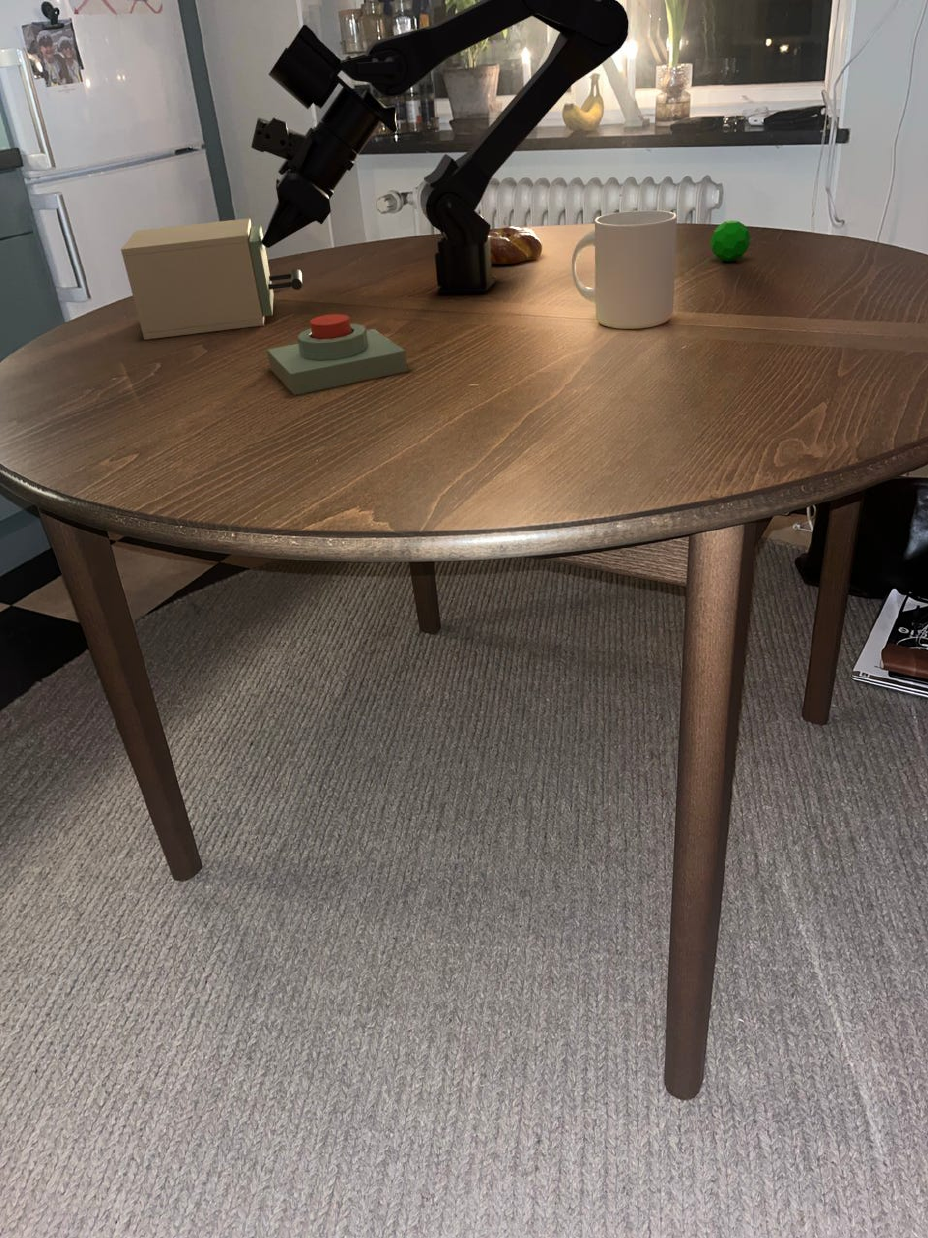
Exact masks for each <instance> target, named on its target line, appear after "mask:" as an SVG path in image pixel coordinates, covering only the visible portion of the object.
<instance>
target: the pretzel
mask: <svg viewBox="0 0 928 1238" xmlns="http://www.w3.org/2000/svg"><path fill="white" fill-rule="evenodd" d="M489 236H490V248H491V264H492V265H511V264H512V265H513V264H519V263H522V262H525V261H527V260H528V261H531V260H535V259H538V257H540V256H541V254H542V252H543V245H542V242H541V240H540V238H538V237H537V236H536V233H535V232H534V231H533V230H532V229H530V228H526V227H525V228H520V227H516V226H505V227H502V228H500V229H499V230H498V231H496V232H495V231H490V232H489Z"/></svg>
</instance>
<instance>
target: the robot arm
mask: <svg viewBox="0 0 928 1238" xmlns="http://www.w3.org/2000/svg"><path fill="white" fill-rule="evenodd" d="M531 17H532V18H535V19H536V20H538V21H540V22H542V23H543V24H545V25H547V26H548V27H550V28H551V29H553V30H555V31H557V32H559V33H558V35H557V37H556V39H555V41H554V43H553V45H552V47H551V50H550V52H549V54H548V56H547V58H546V59H545V61H544V62H543V63H542V64H541V65H540V67H539V68H538V69H537V70H536V71H535V72H534V73H533V75H532V76H531V77H530V78H529V80H528V81H527V82H526V83H525V84H524V86H523V87H522V88H521V89H520V90H519V91H518V92H517V93H516V95H515V96H514V97H513V98H512V100H511V101H510V102H509V103H508V104H507V106H506V107H504V109H503V110H502V111H501V112H500V114H499V115H498V116H497V117H496V118H495V119H494V120H493V121H492V123H491V124H490V125H489V127H487V129H486V130H485V131H484V132H483V133H482V135H481V136H480V137H479V138H478V139H477V140H476V142H475V143H474V144H473V146H471V147H470V149H469V150H468V151H466V153H463V155H461V156H460V157H458V158H457V159H454V158H453V157H452V156H450V155H448V154H447V153H445V154H444V155H443V156H442V158H441V159H440V160H439V163H438V164H437V165H436V168H435V169H433V171H432V172H431V173H429V174H428V175H426V176H424V177H423V180H424V181H425V184H424V186H423V188H422V190H421V192H420V197H419V200H420V201H419V203H420V209H421V211H422V214H423V215H424V216H425V218H426V219H427V221H428V222H429V223H430V225H432V227H434V228H435V229H437V230H438V231H439V232H440V234H441V235H442V236H443V237H442V238H440V239H439V240H438V241H437V252H436V253H435V254H434V262H435V274H436V284H437V286H438V287H439V288H438V289H437V294H439V295H441V294H443V295H444V294H446V295H447V294H484V293H486V292H488V291H489V290H490V289H491V288H492V287H493V285H494V284H496V282H497V277H493V266H492V265H493V264H491V248H490V236H489V232H490V233H491V226H492V225H491V224H490V223H489V222H488V221H486V219H484V217H482V216H481V214H479V213H478V212H477V211H476V209H477V208H478V206H479V204H480V203H481V201H482V199H483V197H484V195H485V193H486V190H487V188H488V186H489V184H490V182H491V180H492V178H493V177H494V175H495V174H496V173H497V172H498V171H499V169H500V168H501V167H502V166H503V165H504V164H505V163H506V162H507V160H508V159H509V158H510V157H511V156H512V154H513V153H514V152H515V151H516V150H517V149H518V148H519V147H520V145H521V144H522V143H523V142H524V141H525V140H526V138H527V137H528V136H529V135H530V134H531V133H532V131H533V130H534V129H535V128H536V127H537V126H538V125H539V124H540V123H541V122H542V120H543V119H544V118H545V117H546V116H547V114H548V113H549V112H550V111H551V110H552V109H553V108H554V106H555V105H556V104H557V103H558V102H559V100H561V98H562V97H563V96H564V95H565V94H566V93H567V92H568V90H569V89H570V88H571V87H572V86H573V85H575V83H577V82H578V81H579V80H581V79H583V78H584V77H586V76H587V75H589V74H590V73H592V72H593V71H594V70H596V69H597V68H599V67H600V66H601V65H603V63H605V62H606V61H607V60H608V59H609V58H611V57H612V56H613V55H615V53H617V52H618V51H619V50H620V49H621V48H622V47H623V46H624V44H625V42H626V41H627V39H628V36H629V24H630V23H629V18H628V13H627V11H626V9H625V7H624V6H623V4H622V3H620V2H619V1H618V0H479V1H478V2H475V3H473V4H471V5H470V6H468V7H465V8H464V9H462V10H460V11H458V12H456V13H454V14H452V15H449V16H447V17H446V18H443V19H442V20H440V21H438V22H435V23H434V24H432V25H428V26H425V27H421V28H417V29H414V30H409V31H406V32H402V33H397V34H395V35H391V36H387V37H383V38H379V39H377V40H375V41H373V43H371V44H370V45H369V46H368V47H367V49H366V51H365V54H360V55H356V56H353V57H351V56H350V55H346V57H345V59H340V57H338V56H337V55H336V54H335V53H334V52H333V51H332V50H331V49H329V48H328V46H326V45H325V44H324V42H322V41H321V40H320V39H319V37H318V36H317V35H316V33H315V32H314V31H313V30H312V29H311V28H310V27H309V26H308V25H307V24H303V25H302V26H301V27H300V29H299V30H298V32H297V33H296V35H295V36H294V37H293V40H292V41H291V42H290V44H289V46H288V47H285V48H284V50H283V51H282V53H281V54H280V56H279V58H278V59H277V60H276V62H275V64H274V65H273V67H272V68H271V70H270V71H269V73H268V76H269V77H270V78H271V79H272V80H274V81H275V82H276V83H277V84H278V85H279V86H281V88H283V89H284V90H285V91H286V92H287V93H288V94H289V95H290V96H291V97H293V98H294V99H295V100H296V101H297V102H298V103H300V104H301V105H302V106H303V107H304V108H305V109H306V110H309V109H310V108H311V107H312V105H314V106H315V107H318V109H320V110H321V109H322V108H323V107H324V105H326V103H327V102H328V100H329V99H330V98H331V96H332V94H333V93H334V91H335V90H336V88H337V87H338V86H339V85H340V86H341V87H342V88H341V89H340V91H339V92H338V94H337V95H336V97H335V98H334V100H333V101H332V102H331V104H330V105H329V106H328V108H327V110H326V111H325V112H324V114H323V116H322V117H321V119H320V120H319V121H318V123H317V124H316V126H314V127H310V128H309V129H308V131H306V134H303V133H300V132H298V131H295V130H293V129H291V128H289V127H288V125H287V122H286V121H285V120H281V119H279V118H277V117H275V116H273V117H272V118H271V120H268V119H265V118H262V117H258V118H257V120H256V125H255V128H254V133H253V137H252V142H251V149H253V150H256V151H258V152H260V153H264V152H265V153H268V154H271V155H274V156H276V157H279V158H281V159H284V161H283V163H282V164H281V165H280V167H279V168H278V171H277V173H278V174H279V175H280V176H282V177H281V178H280V179H279V178H276V180H275V190H276V196H277V202H276V205H275V208H274V210H273V212H272V215H271V217H270V220H269V222H268V224H267V227H266V229H265V231H264V233H263V238H262V241H261V243H262V244H263V245H264V246H265V248H267V249H270V248H271V247H273V246H275V245H276V244H278V243H279V242H282V241H283V240H285V239H286V238H288V237H289V236H292V235H293V234H294V233H296V232H298V231H300V230H302V229H304V228H305V227H307V226H309V225H311V224H312V223H315V222H317V223H318V224H320V225H323V224H324V222H325V221H326V219H327V218H328V217H329V215H330V214H331V212H332V209H331V208H332V207H331V203H330V201H331V200H330V199H331V198H332V197H333V195H334V194H335V192H334V190H335V189H336V187H337V186H338V185H339V183H340V182H341V181H342V179H343V178H344V176H346V173H347V172H348V171H349V172H350V171H351V170H352V168H353V167H354V166H355V163H354V162H355V161H356V159H357V158H358V156H359V155H360V153H361V152H362V151H363V149H364V148H365V146H366V145H367V144H368V142H370V139H371V138H372V137H373V136H374V134H375V133H376V131H377V129H378V128H379V127H380V125H381V124H382V125H384V126H385V127H386V128H387V129H388V130H389V131H390V132H392V133H393V134H395V133H397V132H398V125H397V117H396V116H397V111H398V109H397V107H396V106H395V105H390V106H386V105H384V104H383V103H382V102H381V101H380V100H379V99H378V98H377V97H376V96H375V95H374V94H373V93H371V91H369V90H368V89H366V90H364V91H363V93H362V94H361V95H359V94H358V92H357V91H355V89H353V88H352V87H351V86H349V84H348V83H347V82H345V81H344V80H343V78H341V77H340V76H339V74H340V73H341V72H343V73H344V74H345V75H346V76H347V77H348V78H349V79H351V80H352V81H354V82H361V83H368V84H369V86H370V87H372V88H373V89H374V90H375V91H377V92H378V93H380V94H383V95H385V96H387V97H397V96H399V95H402V94H404V93H405V92H407V91H408V90H410V89H411V88H412V87H413V86H415V85H417V84H418V83H419V82H420V81H422V79H424V78H425V77H427V76H428V75H429V74H430V73H431V72H432V71H434V70H435V69H436V68H437V67H438V66H439V65H441V64H442V63H443V62H445V61H446V60H447V59H449V58H450V57H453V56H455V55H457V54H459V53H461V52H463V51H465V50H467V49H468V48H471V47H473V46H475V45H477V44H479V43H481V42H483V41H485V40H486V39H489V38H491V37H493V36H495V35H497V34H499V33H501V32H503V31H505V30H507V29H509V28H511V27H513V26H515V25H517V24H519V23H521V22H522V21H525V20H527V19H530V18H531Z"/></svg>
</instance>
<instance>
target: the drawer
mask: <svg viewBox="0 0 928 1238" xmlns="http://www.w3.org/2000/svg"><path fill="white" fill-rule="evenodd" d="M251 226H252V228H251V233H250V238H249V247H250V252H251V257H252V263H253V268H254V273H255V278H256V283H257V289H258V294H259V299H260V304H261V310H262V315H263V317H264V318H265V317H272V316H273V313H274V295H275V293H274V290H278V289H285V288H287V289H288V288H292V289H293V290H295V291H299V290H301V289H302V287H303V273H302V271H301V270H300V269H298V268H294V269H292V270H291V272H287V273H278V274H271V272H270V267H269V262H268V257H267V250H266V247H265V246H264V245H263V244H262V243H261V241H262V238H263V236H264V233H263V229H262V225H260V224H259V225H251ZM282 280H283V281H282ZM284 280H290V281H284ZM274 281H281V282H274ZM272 282H274V283H272Z"/></svg>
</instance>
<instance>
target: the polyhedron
mask: <svg viewBox="0 0 928 1238" xmlns="http://www.w3.org/2000/svg"><path fill="white" fill-rule="evenodd" d="M750 244H751V235H750V232H749V230H748V228H747V227H746V225H745V224H743V223H742V222H740V221H739V220H727V221H724V222H722V223H721V224H719V225H718V226H717V227H716V229H714V231H713V232H712V235H711V237H710V248H711V250H712V253H713V254H714V256H715V257H716V258H717V259H719V260H721V261H723V262H733V261H737V260H739V259H740V258H742V257H743V256H744V255H745V253H746V252H747V251H748V249H749V247H750Z"/></svg>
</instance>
